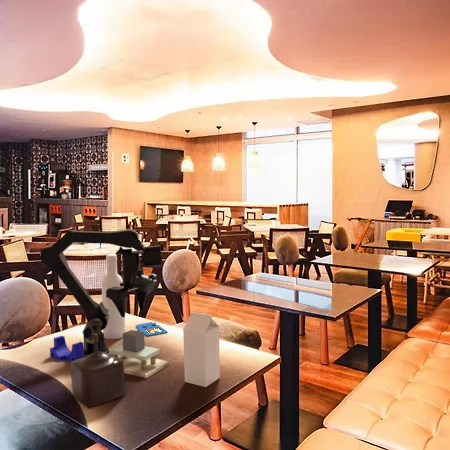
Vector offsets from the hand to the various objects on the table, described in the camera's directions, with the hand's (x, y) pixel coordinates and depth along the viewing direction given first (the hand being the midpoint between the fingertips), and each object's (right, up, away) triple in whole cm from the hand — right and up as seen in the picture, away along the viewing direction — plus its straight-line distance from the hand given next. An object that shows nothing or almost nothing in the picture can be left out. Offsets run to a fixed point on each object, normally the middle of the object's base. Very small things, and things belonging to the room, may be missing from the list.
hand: (132, 313), depth 151 cm
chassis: (+3, -13, -14) cm, 19 cm away
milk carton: (+25, -14, -25) cm, 38 cm away
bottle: (-10, -11, +14) cm, 21 cm away
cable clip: (-19, -13, -7) cm, 25 cm away
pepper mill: (-4, -15, -31) cm, 35 cm away
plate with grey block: (+3, -9, -14) cm, 17 cm away
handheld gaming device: (+2, -11, +21) cm, 24 cm away
